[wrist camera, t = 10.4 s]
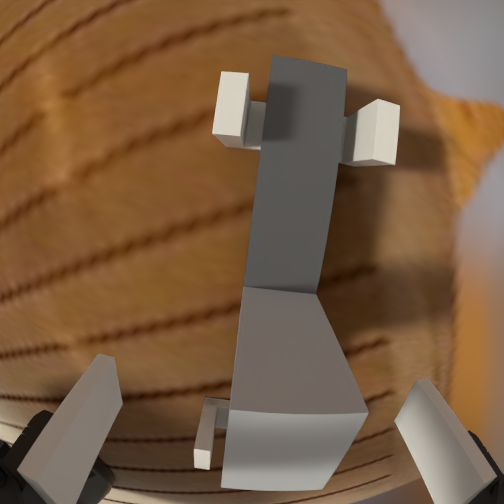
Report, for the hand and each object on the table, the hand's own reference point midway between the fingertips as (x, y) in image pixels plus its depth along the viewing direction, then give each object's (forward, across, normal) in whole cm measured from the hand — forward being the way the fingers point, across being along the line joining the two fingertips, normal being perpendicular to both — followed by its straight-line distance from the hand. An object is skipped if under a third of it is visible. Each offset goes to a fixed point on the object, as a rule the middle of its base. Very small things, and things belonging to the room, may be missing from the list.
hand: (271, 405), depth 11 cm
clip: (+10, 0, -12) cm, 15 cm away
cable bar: (+9, 0, 0) cm, 9 cm away
